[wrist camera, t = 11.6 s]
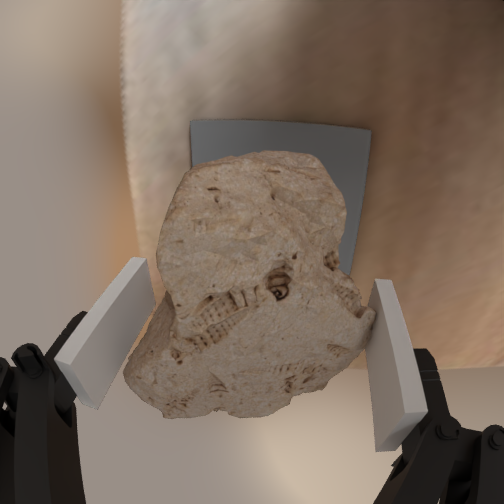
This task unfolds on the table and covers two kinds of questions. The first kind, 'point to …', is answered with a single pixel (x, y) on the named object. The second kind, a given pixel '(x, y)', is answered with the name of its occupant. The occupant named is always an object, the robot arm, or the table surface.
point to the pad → (299, 141)
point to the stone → (249, 290)
